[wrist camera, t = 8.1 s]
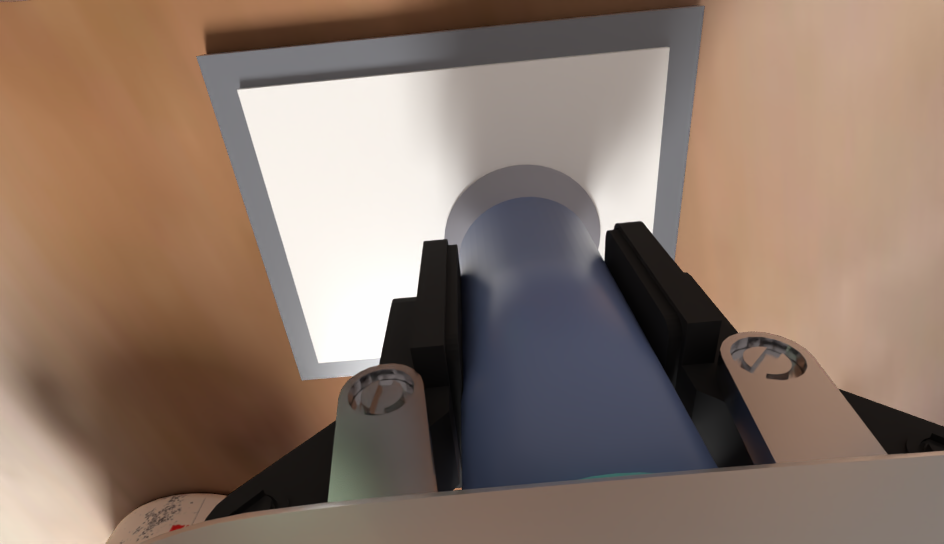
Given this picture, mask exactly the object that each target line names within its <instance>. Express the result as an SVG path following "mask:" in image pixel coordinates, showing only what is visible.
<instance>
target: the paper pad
mask: <svg viewBox="0 0 944 544" xmlns="http://www.w3.org/2000/svg"><path fill="white" fill-rule="evenodd" d="M704 7H705V6H697V5H695V6H685V7H675V8H665V9H655V10H645V11H635V12H625V13H615V14H605V15H595V16H585V17H575V18H565V19H555V20H545V21H534V22H524V23H514V24H504V25H494V26H484V27H474V28H464V29H454V30H444V31H434V32H424V33H414V34H404V35H394V36H384V37H374V38H364V39H354V40H344V41H333V42H323V43H313V44H303V45H293V46H283V47H273V48H263V49H253V50H243V51H233V52H223V53H213V54H204V55H200V56H196V57H197V60H198V63H199V66H200V69H201V72H202V75H203V78H204V81H205V84H206V87H207V91H208V94H209V97H210V100H211V103H212V106H213V109H214V112H215V115H216V118H217V121H218V124H219V127H220V131H221V134H222V137H223V140H224V143H225V146H226V149H227V152H228V155H229V158H230V161H231V164H232V167H233V170H234V174H235V177H236V180H237V183H238V186H239V189H240V192H241V195H242V198H243V201H244V204H245V207H246V210H247V214H248V217H249V220H250V223H251V226H252V229H253V232H254V235H255V238H256V241H257V244H258V247H259V250H260V253H261V257H262V260H263V263H264V266H265V269H266V272H267V275H268V278H269V281H270V284H271V287H272V290H273V293H274V296H275V300H276V303H277V306H278V309H279V312H280V315H281V318H282V321H283V324H284V327H285V330H286V333H287V336H288V340H289V343H290V346H291V349H292V352H293V355H294V358H295V361H296V364H297V367H298V370H299V373H300V376H301V379H302V380H311V379H323V378H335V377H346V376H354V375H356V374H357V373H359V372H361V371H363V370H365V369H367V368H369V367H373V366H376V365H379V362H380V357H381V352H382V347H383V342H384V337H385V332H386V327H387V322H388V318H389V313H390V308H391V303H392V300H393V299H396V298H407V297H417V289H418V281H419V273H420V265H421V257H422V249H423V242H424V241H430V240H441V239H447V240H448V245H455V244H457V246H458V254H459V252H460V247H461V243H462V241H463V238H464V236H465V234H466V232H467V231H468V229H469V227H470V226H471V225H472V223H473V222H474V221H475V220H476V219H477V218H478V217H479V216H480V215H481V214H482V213H484V212H485V211H486V210H488V209H489V208H491V207H493V206H495V205H497V204H499V203H501V202H504V201H507V200H510V199H514V198H520V197H539V198H545V199H549V200H552V201H555V202H558V203H560V204H562V205H564V206H566V207H567V208H568V209H570V210H571V211H573V212H574V213H575V214H576V215H577V216H578V217H579V218H580V220H581V221H582V222H583V224H584V225H585V227H586V229H587V231H588V233H589V234H590V236H591V238H592V240H593V242H594V243H595V245H596V247H597V249H598V251H599V253H600V254H601V256H602V258H603V260H604V258H605V237H606V232H607V230H614V226H615V224H616V223H625V222H635V221H642V222H643V223H644V224H645V226H646V227H647V228H648V229H649V231H650V232H651V233H652V234H653V235H654V237H655V238H656V239H657V240H658V242H659V243H660V244H661V245H662V247H663V248H664V249H665V250H666V252H667V253H668V254H669V255H670V257H671V258H672V259H673V260H675V251H676V243H677V235H678V226H679V218H680V209H681V201H682V192H683V184H684V176H685V167H686V159H687V150H688V142H689V134H690V125H691V117H692V108H693V100H694V91H695V83H696V75H697V66H698V58H699V49H700V41H701V32H702V24H703V16H704Z"/></svg>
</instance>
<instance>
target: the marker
mask: <svg viewBox="0 0 944 544" xmlns="http://www.w3.org/2000/svg"><path fill="white" fill-rule="evenodd" d="M459 263H460V272H461V301H462V349H463V393H462V400H461V455H462V490H466V489H478V488H489V487H500V486H511V485H522V484H534V483H545V482H557V481H568V480H580V479H592V478H604V477H616V476H627V475H639V474H651V473H663V472H675V471H688V470H700V469H712V468H718V467H717V465H716V463H715V462H714V460H713V458H712V456H711V454H710V452H709V451H708V449H707V447H706V445H705V443H704V442H703V440H702V438H701V436H700V434H699V432H698V431H697V429H696V427H695V425H694V423H693V422H692V420H691V418H690V416H689V414H688V412H687V411H686V409H685V407H684V405H683V403H682V402H681V400H680V398H679V396H678V394H677V393H676V391H675V389H674V387H673V385H672V383H671V382H670V380H669V378H668V376H667V374H666V373H665V371H664V369H663V367H662V365H661V363H660V362H659V360H658V358H657V356H656V354H655V353H654V351H653V349H652V347H651V345H650V343H649V342H648V340H647V338H646V336H645V334H644V333H643V331H642V329H641V327H640V325H639V323H638V322H637V320H636V318H635V316H634V314H633V313H632V311H631V309H630V307H629V305H628V303H627V302H626V300H625V298H624V296H623V294H622V293H621V291H620V289H619V287H618V285H617V283H616V282H615V280H614V278H613V276H612V274H611V273H610V271H609V269H608V267H607V265H606V263H605V262H604V260H603V258H602V256H601V254H600V253H599V251H598V249H597V247H596V245H595V243H594V242H593V240H592V238H591V236H590V234H589V233H588V231H587V229H586V227H585V225H584V224H583V222H582V221H581V220H580V218H579V217H578V216H577V215H576V214H575V213H574V212H573V211H571V210H570V209H568V208H567V207H566V206H564V205H562V204H560V203H558V202H555V201H552V200H549V199H545V198H539V197H520V198H514V199H510V200H507V201H504V202H501V203H499V204H497V205H495V206H493V207H491V208H489V209H488V210H486V211H485V212H484V213H482V214H481V215H480V216H479V217H478V218H477V219H476V220H475V221H474V222H473V223H472V225H471V226H470V227H469V229H468V231H467V232H466V234H465V236H464V238H463V241H462V243H461V247H460V252H459Z"/></svg>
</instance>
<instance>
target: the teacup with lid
mask: <svg viewBox="0 0 944 544" xmlns="http://www.w3.org/2000/svg"><path fill="white" fill-rule="evenodd" d="M225 497H227V496H226V495H219V494H202V493H196V494H181V495H174V496H168V497H165V498H161V499H157V500H155V501H152V502H149V503H147V504H145V505H143V506H140V507H139V508H137V509H135V510H134V511H132V512H131V513H130V514H128V515H127V516H126V517H125V518H124V519H123V520H122V521H121V522H120V523H119V524H118V525H117V527H116V528H115V530H114V531H113V533H112V534H111V536H110V537H109V539H108V540H107V542H106V544H139V543H141V542H143V541H146V540H148V539H151V538H153V537H156V536H158V535H161V534H163V533H167V532H170V531H173V530H177V529H180V528H184V527H187V526H190V525H194V524H197V523H200V522H204V521H205V519H206V517H207V516H208V515H209V514H210V512H211V511H212V510H213V509H214V507H215V506H216V505H217V504H218V503H220V502H221V501H222V500H223V499H224V498H225Z"/></svg>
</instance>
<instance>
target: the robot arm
mask: <svg viewBox="0 0 944 544" xmlns="http://www.w3.org/2000/svg"><path fill="white" fill-rule="evenodd" d="M604 262H605V263H606V265H607V267H608V269H609V271H610V273H611V274H612V276H613V278H614V280H615V282H616V283H617V285H618V287H619V289H620V291H621V293H622V294H623V296H624V298H625V300H626V302H627V303H628V305H629V307H630V309H631V311H632V313H633V314H634V316H635V318H636V320H637V322H638V323H639V325H640V327H641V329H642V331H643V333H644V334H645V336H646V338H647V340H648V342H649V343H650V345H651V347H652V349H653V351H654V353H655V354H656V356H657V358H658V360H659V362H660V363H661V365H662V367H663V369H664V371H665V373H666V374H667V376H668V378H669V380H670V382H671V383H672V385H673V387H674V389H675V391H676V393H677V394H678V396H679V398H680V400H681V402H682V403H683V405H684V407H685V409H686V411H687V412H688V414H689V416H690V418H691V420H692V422H693V423H694V425H695V427H696V429H697V431H698V432H699V434H700V436H701V438H702V440H703V442H704V443H705V445H706V447H707V449H708V451H709V452H710V454H711V456H712V458H713V460H714V462H715V463H716V465H717V467H718V468H712V469H700V470H688V471H675V472H663V473H651V474H639V475H627V476H616V477H604V478H592V479H580V480H568V481H557V482H545V483H534V484H522V485H511V486H500V487H489V488H478V489H466V490H455V491H453V490H454V489H455V488H462V455H461V400H462V393H463V349H462V301H461V272H460V263H459V254H458V246H457V244H455V245H448V240H447V239H441V240H430V241H424V242H423V249H422V257H421V265H420V273H419V281H418V289H417V297H407V298H396V299H393V300H392V303H391V308H390V313H389V318H388V322H387V327H386V332H385V337H384V342H383V347H382V352H381V357H380V362H379V365H376V366H373V367H369V368H367V369H365V370H363V371H361V372H359V373H357V374H356V375H354V376H353V377H352V378H351V379H349V380H348V381H347V383H346V384H345V385H344V386H343V388H342V389H341V392H340V395H339V398H338V407H337V417H336V421H334V422H333V423H331V424H330V425H329V426H327V427H326V428H324V429H323V430H321V431H320V432H318V433H317V434H316V435H314V436H313V437H311V438H310V439H308V440H307V441H305V442H304V443H303V444H301V445H300V446H298V447H297V448H295V449H294V450H292V451H291V452H290V453H288V454H287V455H285V456H284V457H282V458H281V459H279V460H278V461H277V462H275V463H274V464H272V465H271V466H269V467H268V468H266V469H265V470H264V471H262V472H261V473H259V474H258V475H256V476H255V477H253V478H252V479H251V480H249V481H248V482H246V483H245V484H243V485H242V486H240V487H239V488H238V489H236V490H235V491H233V492H232V493H230V494H229V495H228V496H227V497H225V498H224V499H223V500H222V501H221V502H220V503H218V504H217V505H216V506H215V507H214V509H213V510H212V511H211V512H210V514H209V515H208V516H207V517H206V519H205V521H204V522H200V523H197V524H194V525H190V526H187V527H184V528H180V529H177V530H173V531H170V532H167V533H163V534H161V535H158V536H156V537H153V538H151V539H148V540H146V541H143V542H141V543H139V544H944V427H943V426H940V425H938V424H935V423H932V422H929V421H927V420H924V419H921V418H918V417H915V416H913V415H910V414H907V413H904V412H902V411H899V410H896V409H893V408H890V407H888V406H885V405H882V404H879V403H877V402H874V401H871V400H868V399H865V398H863V397H860V396H857V395H854V394H852V393H849V392H846V391H843V390H841V389H838V388H837V387H836V385H835V384H834V383H833V381H832V380H831V379H830V377H829V376H828V375H827V373H826V372H825V371H824V369H823V368H822V367H821V365H820V364H819V363H818V362H817V360H816V359H815V358H814V356H813V355H812V354H811V353H809V352H808V351H807V350H806V349H805V348H804V347H802V346H800V345H799V344H797V343H796V342H794V341H792V340H789V339H786V338H784V337H781V336H778V335H774V334H770V333H765V332H742V333H738V332H737V331H736V330H735V329H734V327H733V326H732V325H731V324H730V322H729V321H728V320H727V319H726V318H725V316H724V315H723V314H722V313H721V312H720V310H719V309H718V308H717V307H716V305H715V304H714V303H713V302H712V301H711V299H710V298H709V297H708V296H707V295H706V293H705V292H704V291H703V290H702V288H701V287H700V286H699V285H698V284H697V282H696V281H695V280H694V279H693V278H692V276H691V275H689V274H688V273H685V272H683V271H682V270H681V269H680V268H679V266H678V265H677V264H676V263H675V262H674V260H673V259H672V258H671V257H670V255H669V254H668V253H667V252H666V250H665V249H664V248H663V247H662V245H661V244H660V243H659V242H658V240H657V239H656V238H655V237H654V235H653V234H652V233H651V232H650V231H649V229H648V228H647V227H646V226H645V224H644V223H643V222H642V221H635V222H625V223H616V224H615V226H614V230H607V232H606V237H605V258H604Z"/></svg>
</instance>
